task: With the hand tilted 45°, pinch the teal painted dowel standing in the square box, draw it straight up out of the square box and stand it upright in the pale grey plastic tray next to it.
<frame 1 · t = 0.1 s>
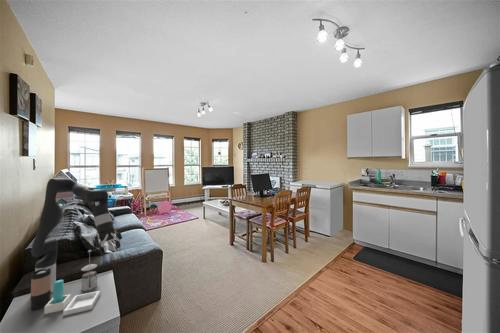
hand: (111, 251, 108), 31 cm above the table, tool tilted 20°, fingers open, 8 cm apart
travel mug: (40, 307, 109), on the table
tray: (83, 306, 109), on the table
square box: (58, 309, 107), on the table
french press: (89, 289, 126), on the table
dowel: (58, 307, 107), point 1 cm above the table, touching square box
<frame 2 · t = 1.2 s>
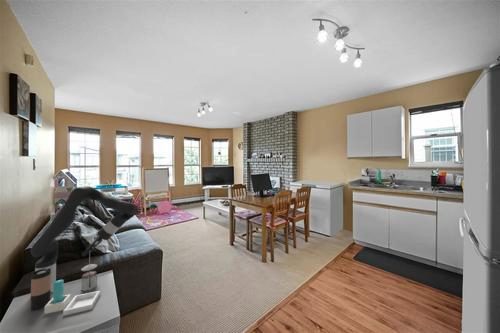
hand: (85, 253, 114), 28 cm above the table, tool tilted 45°, fingers open, 8 cm apart
nothing on the table moved.
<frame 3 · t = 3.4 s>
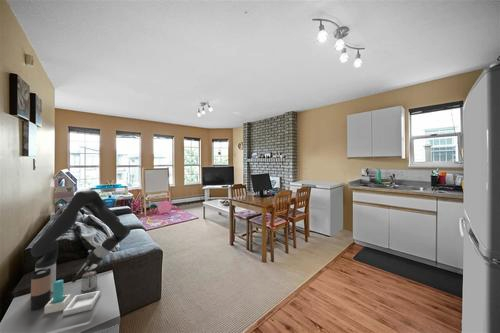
hand: (74, 278, 111), 15 cm above the table, tool tilted 45°, fingers open, 8 cm apart
nothing on the table moved.
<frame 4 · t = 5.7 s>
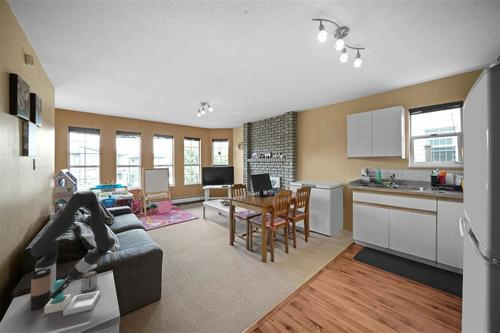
hand: (53, 295, 107), 8 cm above the table, tool tilted 45°, fingers closed on dowel, 4 cm apart
dowel: (58, 307, 107), point 1 cm above the table, touching square box, gripper
everything else where it was.
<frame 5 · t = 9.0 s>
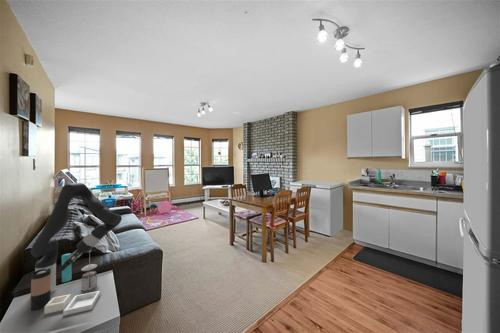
hand: (62, 268, 108), 22 cm above the table, tool tilted 45°, fingers closed on dowel, 4 cm apart
dowel: (66, 280, 108), point 15 cm above the table, touching gripper
everything else where it was.
when the fingers open (10 cm above the table, at t = 12.2 s): dowel drops 2 cm, resting on tray.
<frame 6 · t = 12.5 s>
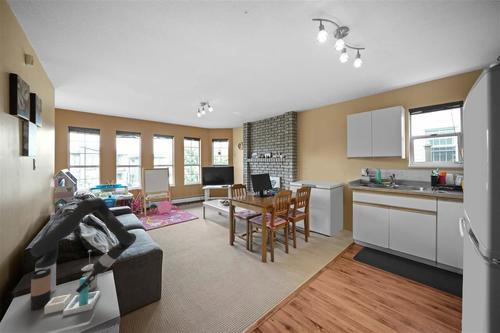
hand: (79, 288, 109), 10 cm above the table, tool tilted 45°, fingers open, 7 cm apart
dowel: (83, 303, 109), point 1 cm above the table, touching tray
everything else where it was.
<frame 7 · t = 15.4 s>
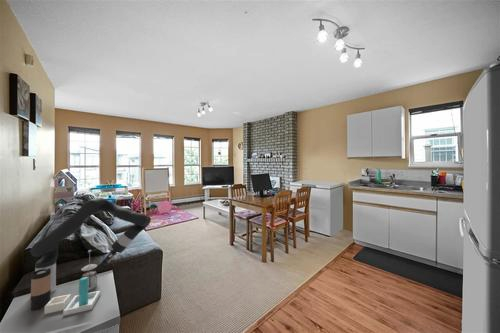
hand: (100, 266, 114), 20 cm above the table, tool tilted 45°, fingers open, 8 cm apart
nothing on the table moved.
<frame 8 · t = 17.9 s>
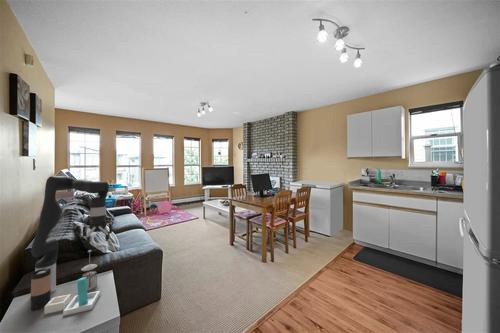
hand: (98, 241, 115), 34 cm above the table, tool pointing down, fingers open, 8 cm apart
nothing on the table moved.
at the end: dowel inside the target area on the tray (0.1 cm from its centre), point 1.3 cm above the tray's base; dowel tilted 3°; the gripper is holding nothing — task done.
